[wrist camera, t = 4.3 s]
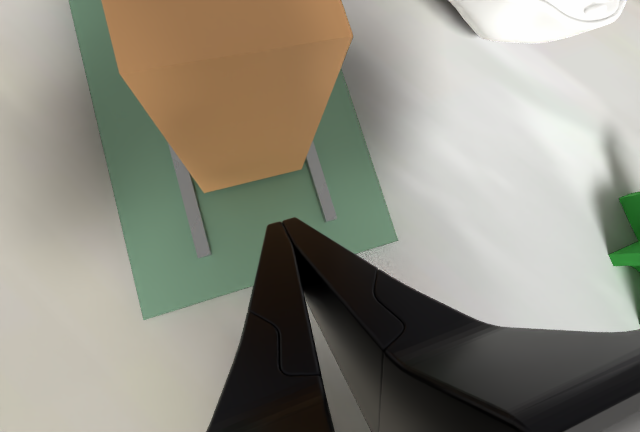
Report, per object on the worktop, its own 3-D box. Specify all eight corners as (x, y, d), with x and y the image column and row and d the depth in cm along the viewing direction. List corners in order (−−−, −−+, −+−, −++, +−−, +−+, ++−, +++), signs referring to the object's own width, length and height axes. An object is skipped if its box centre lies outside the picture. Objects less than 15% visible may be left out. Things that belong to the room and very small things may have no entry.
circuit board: (393, 241, 18) (398, 240, 18) (148, 318, 16) (143, 320, 15) (283, -93, 21) (284, -104, 20) (54, -78, 18) (47, -89, 18)
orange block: (301, 169, 17) (353, 35, 8) (204, 193, 16) (119, 73, 7) (290, 133, 18) (327, -40, 8) (193, 155, 16) (97, -16, 7)
